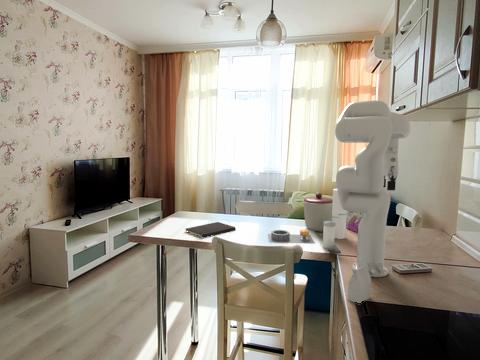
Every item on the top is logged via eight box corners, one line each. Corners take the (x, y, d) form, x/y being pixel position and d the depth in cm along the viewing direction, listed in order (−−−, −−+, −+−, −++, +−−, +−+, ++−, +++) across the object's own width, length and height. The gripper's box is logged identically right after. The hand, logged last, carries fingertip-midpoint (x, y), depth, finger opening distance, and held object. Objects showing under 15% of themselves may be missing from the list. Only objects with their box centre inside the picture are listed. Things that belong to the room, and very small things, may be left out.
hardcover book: (185, 232, 167) (185, 228, 167) (217, 225, 183) (217, 221, 182) (202, 239, 155) (202, 234, 155) (235, 231, 171) (235, 227, 171)
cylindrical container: (346, 239, 155) (348, 190, 152) (332, 238, 156) (333, 190, 154) (344, 235, 162) (346, 188, 159) (330, 234, 163) (332, 188, 161)
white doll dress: (370, 297, 95) (372, 266, 94) (359, 304, 91) (360, 272, 90) (359, 293, 98) (360, 263, 97) (348, 299, 94) (349, 268, 93)
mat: (340, 252, 135) (340, 251, 135) (320, 252, 136) (320, 250, 136) (335, 246, 144) (335, 244, 144) (316, 245, 145) (316, 244, 145)
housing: (315, 245, 145) (315, 237, 145) (268, 244, 146) (269, 236, 146) (309, 236, 159) (310, 229, 159) (267, 235, 160) (267, 228, 160)
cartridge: (335, 250, 137) (336, 224, 135) (323, 249, 137) (324, 223, 136) (332, 245, 142) (334, 221, 140) (321, 245, 143) (322, 220, 141)
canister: (333, 235, 162) (335, 196, 160) (299, 231, 168) (300, 194, 166) (334, 226, 179) (336, 191, 177) (303, 224, 185) (304, 189, 183)
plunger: (309, 240, 150) (309, 232, 149) (300, 240, 150) (300, 232, 150) (308, 238, 154) (308, 229, 154) (299, 237, 155) (299, 229, 154)
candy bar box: (345, 228, 176) (346, 200, 174) (352, 227, 178) (353, 200, 176) (359, 233, 165) (360, 204, 164) (366, 232, 167) (368, 203, 165)
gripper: (406, 150, 126) (404, 191, 128) (388, 150, 143) (386, 186, 145) (388, 150, 126) (385, 191, 128) (372, 150, 143) (370, 186, 145)
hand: (386, 188), depth 137 cm, fingers open, 9 cm apart
